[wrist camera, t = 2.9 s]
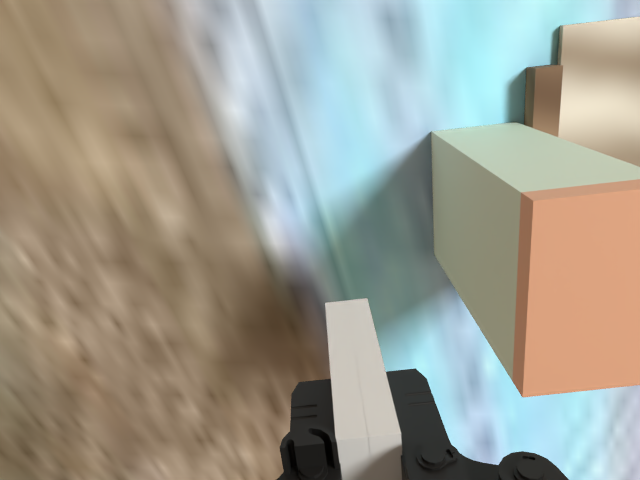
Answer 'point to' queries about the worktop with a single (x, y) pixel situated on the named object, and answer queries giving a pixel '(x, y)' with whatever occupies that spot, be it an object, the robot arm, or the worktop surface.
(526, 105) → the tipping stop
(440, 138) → the sage block
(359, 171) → the worktop surface
